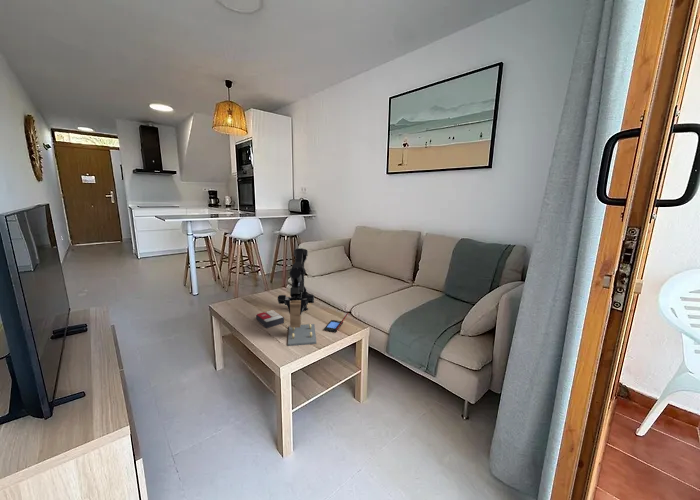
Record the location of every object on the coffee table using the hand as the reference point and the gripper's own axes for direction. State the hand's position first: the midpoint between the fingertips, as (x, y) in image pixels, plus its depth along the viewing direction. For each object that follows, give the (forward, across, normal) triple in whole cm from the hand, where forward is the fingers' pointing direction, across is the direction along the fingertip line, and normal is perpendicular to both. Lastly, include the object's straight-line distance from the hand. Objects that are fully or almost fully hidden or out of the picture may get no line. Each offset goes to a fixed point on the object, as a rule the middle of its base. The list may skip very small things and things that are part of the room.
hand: (295, 314), depth 150 cm
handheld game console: (+3, +22, +16) cm, 27 cm away
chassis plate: (+8, +3, +10) cm, 13 cm away
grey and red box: (-5, -17, +23) cm, 29 cm away
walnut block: (+4, 0, +6) cm, 7 cm away
